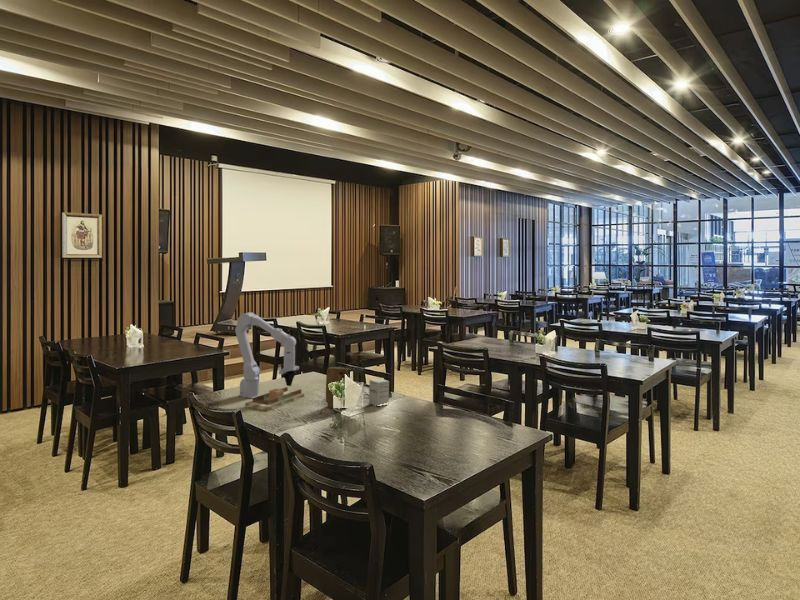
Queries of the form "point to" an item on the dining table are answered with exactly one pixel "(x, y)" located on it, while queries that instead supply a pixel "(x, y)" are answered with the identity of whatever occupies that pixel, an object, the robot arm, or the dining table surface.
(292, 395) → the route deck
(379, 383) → the supplement box
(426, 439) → the dining table surface
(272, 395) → the block terracotta
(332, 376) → the block
